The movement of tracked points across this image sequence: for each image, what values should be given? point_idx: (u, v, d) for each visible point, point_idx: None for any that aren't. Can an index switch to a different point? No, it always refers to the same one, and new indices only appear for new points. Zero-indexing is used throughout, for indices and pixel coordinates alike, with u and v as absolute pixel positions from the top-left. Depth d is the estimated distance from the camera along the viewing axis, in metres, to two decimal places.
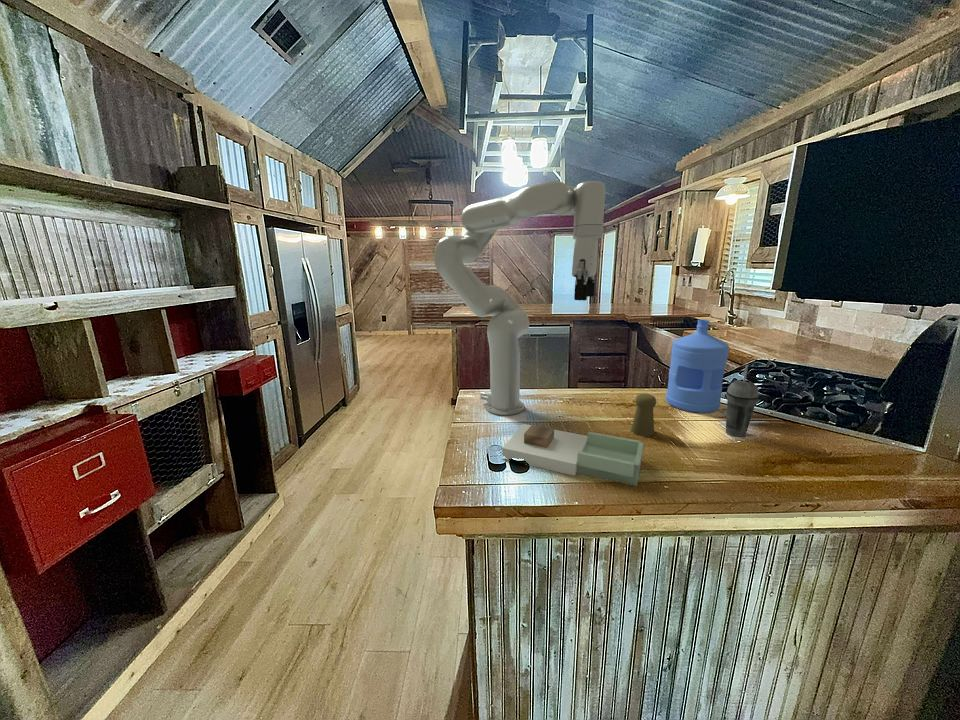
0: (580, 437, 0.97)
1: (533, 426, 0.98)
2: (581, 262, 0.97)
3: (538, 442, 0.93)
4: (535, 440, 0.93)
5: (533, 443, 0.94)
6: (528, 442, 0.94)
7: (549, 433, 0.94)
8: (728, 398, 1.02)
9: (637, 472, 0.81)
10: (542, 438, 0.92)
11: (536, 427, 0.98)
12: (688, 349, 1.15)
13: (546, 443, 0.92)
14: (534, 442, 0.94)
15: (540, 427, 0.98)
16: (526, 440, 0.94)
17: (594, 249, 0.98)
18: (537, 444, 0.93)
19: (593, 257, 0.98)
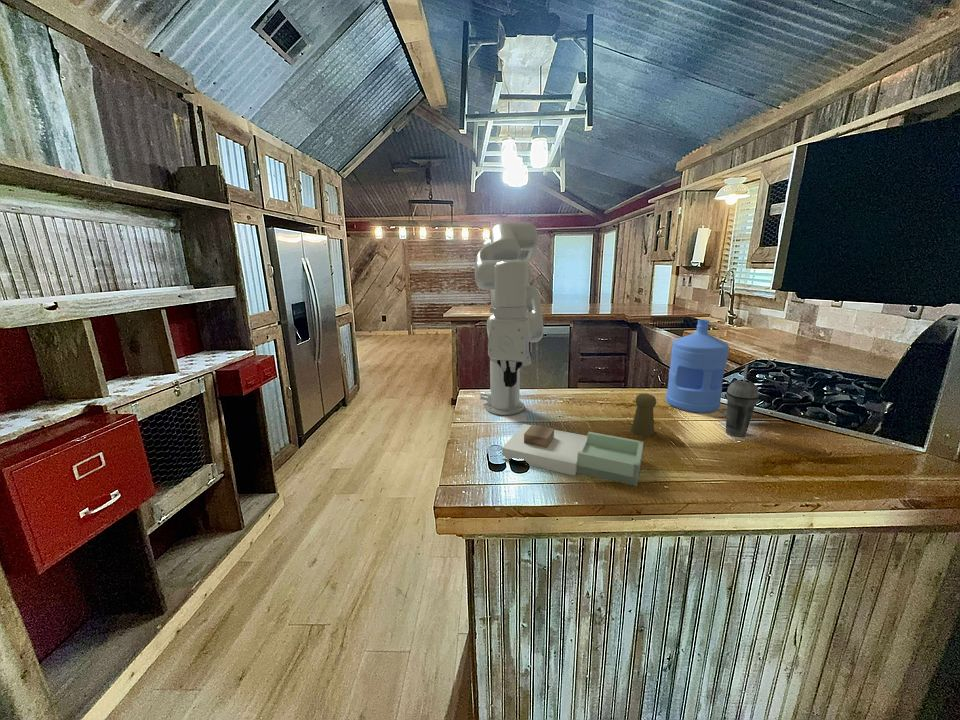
0: (580, 437, 0.97)
1: (533, 426, 0.98)
2: None
3: (538, 442, 0.93)
4: (535, 440, 0.93)
5: (533, 443, 0.94)
6: (528, 442, 0.94)
7: (549, 433, 0.94)
8: (728, 398, 1.02)
9: (637, 472, 0.81)
10: (542, 438, 0.92)
11: (536, 427, 0.98)
12: (688, 349, 1.15)
13: (546, 443, 0.92)
14: (534, 442, 0.94)
15: (540, 427, 0.98)
16: (526, 440, 0.94)
17: None
18: (537, 444, 0.93)
19: None
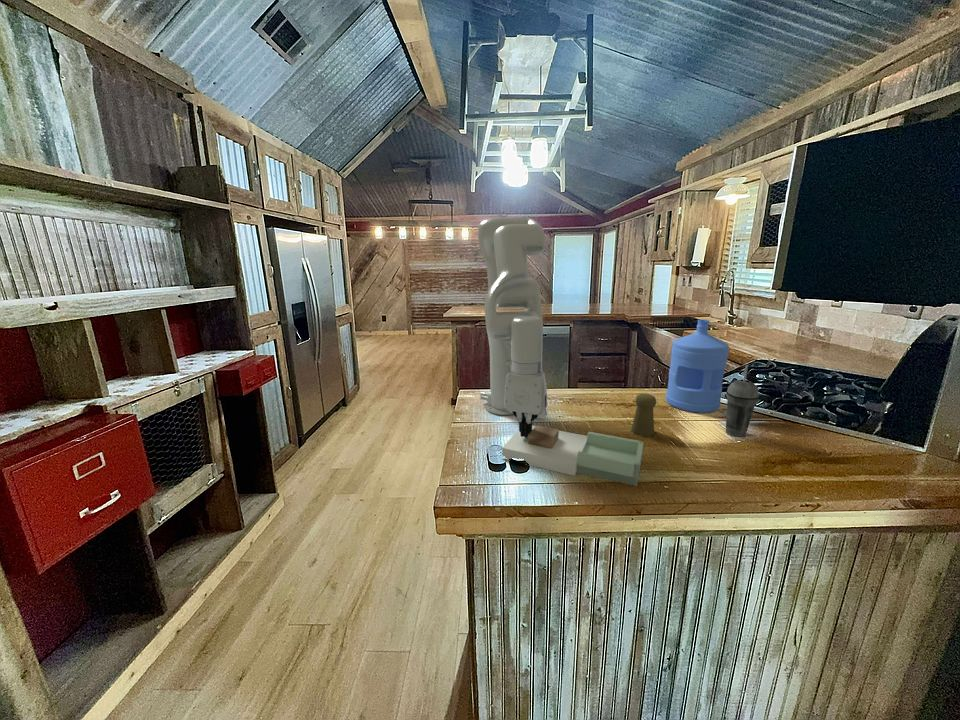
0: (580, 437, 0.97)
1: (537, 427, 0.98)
2: (544, 404, 0.93)
3: (542, 443, 0.93)
4: (540, 441, 0.93)
5: (537, 444, 0.93)
6: (532, 443, 0.94)
7: (553, 434, 0.94)
8: (728, 398, 1.02)
9: (637, 472, 0.81)
10: (546, 439, 0.92)
11: (540, 428, 0.97)
12: (688, 349, 1.15)
13: (551, 444, 0.92)
14: (538, 443, 0.93)
15: (545, 428, 0.97)
16: (531, 441, 0.94)
17: None
18: (541, 445, 0.93)
19: None
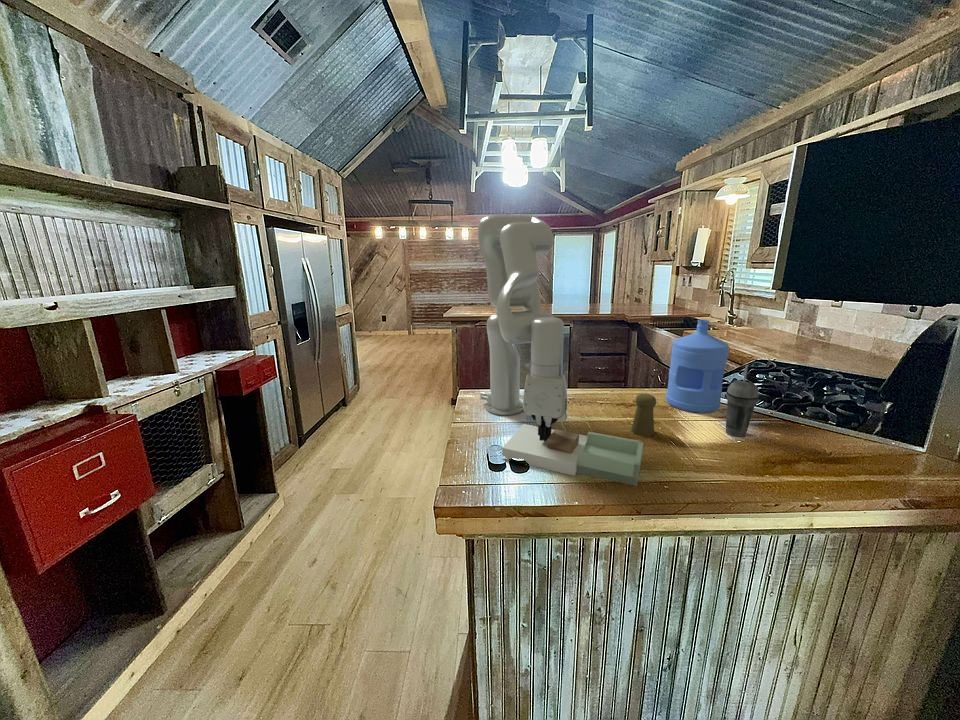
0: (580, 437, 0.97)
1: (557, 431, 0.95)
2: None
3: (562, 448, 0.90)
4: (559, 445, 0.90)
5: (556, 448, 0.91)
6: (551, 447, 0.92)
7: (574, 439, 0.91)
8: (728, 398, 1.02)
9: (637, 472, 0.81)
10: (566, 444, 0.89)
11: (560, 432, 0.95)
12: (688, 349, 1.15)
13: (570, 449, 0.89)
14: (558, 447, 0.91)
15: (565, 432, 0.94)
16: (550, 445, 0.92)
17: None
18: (561, 450, 0.90)
19: None
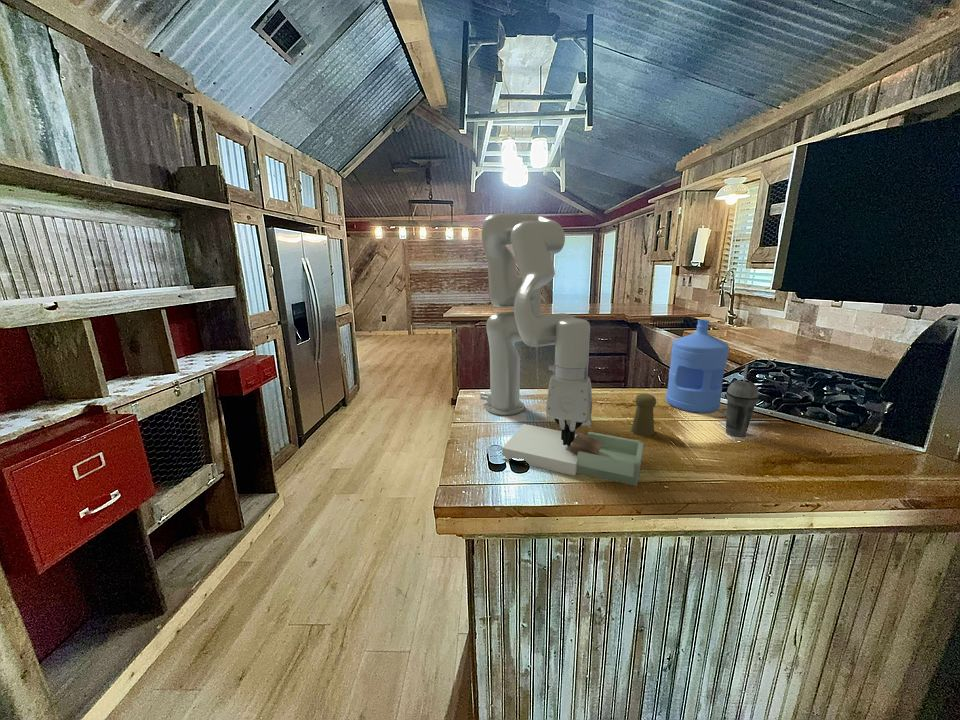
0: None
1: (581, 434, 0.93)
2: None
3: None
4: (583, 451, 0.88)
5: None
6: (574, 451, 0.89)
7: (598, 447, 0.89)
8: (728, 398, 1.02)
9: (637, 472, 0.81)
10: (591, 452, 0.87)
11: (584, 436, 0.92)
12: (688, 349, 1.15)
13: None
14: None
15: (588, 438, 0.92)
16: (573, 449, 0.89)
17: None
18: None
19: None
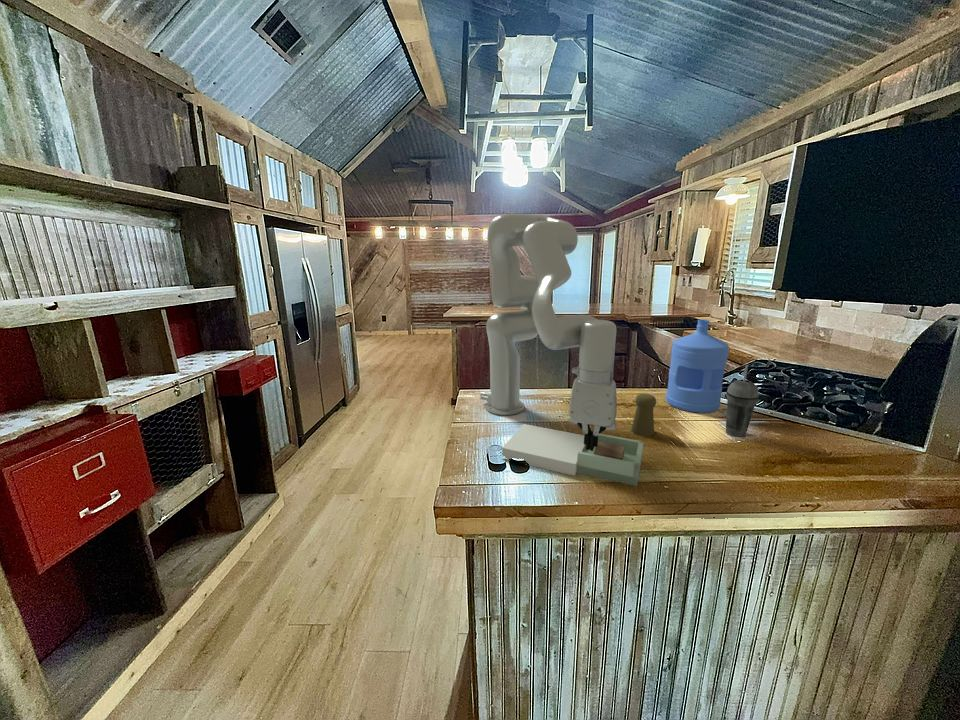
0: (580, 437, 0.97)
1: (600, 443, 0.91)
2: None
3: None
4: None
5: None
6: None
7: (621, 452, 0.87)
8: (728, 398, 1.02)
9: (637, 472, 0.81)
10: (615, 457, 0.85)
11: (604, 444, 0.90)
12: (688, 349, 1.15)
13: None
14: None
15: (609, 445, 0.90)
16: None
17: None
18: None
19: None
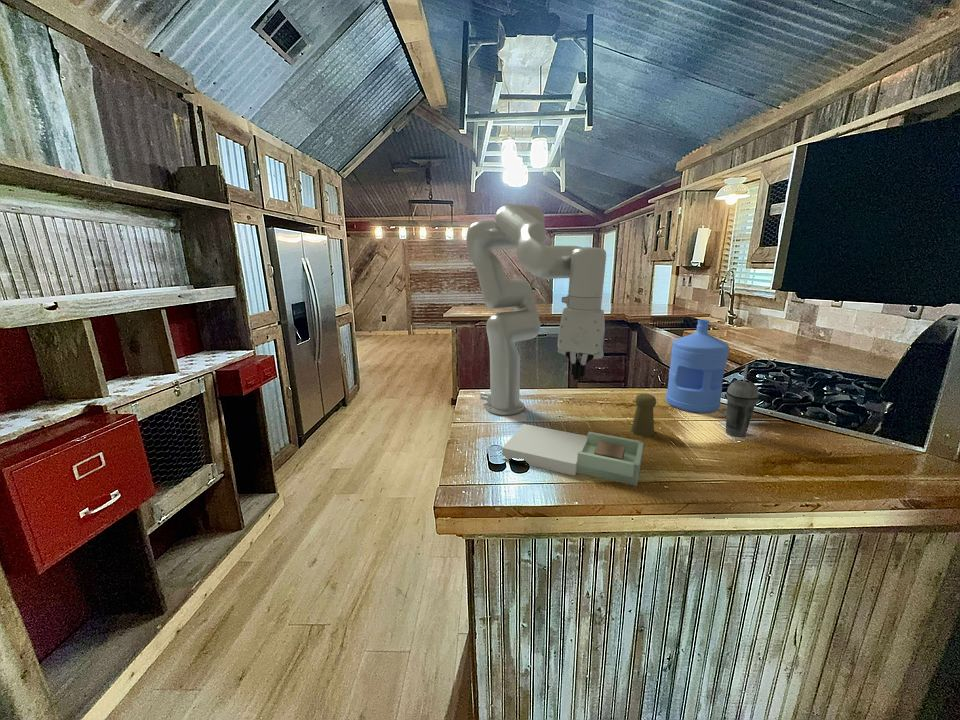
0: (580, 437, 0.97)
1: (601, 443, 0.91)
2: None
3: None
4: None
5: None
6: None
7: (621, 452, 0.87)
8: (728, 398, 1.02)
9: (637, 472, 0.81)
10: (615, 457, 0.85)
11: (604, 444, 0.90)
12: (688, 349, 1.15)
13: None
14: None
15: (609, 445, 0.90)
16: None
17: None
18: None
19: None
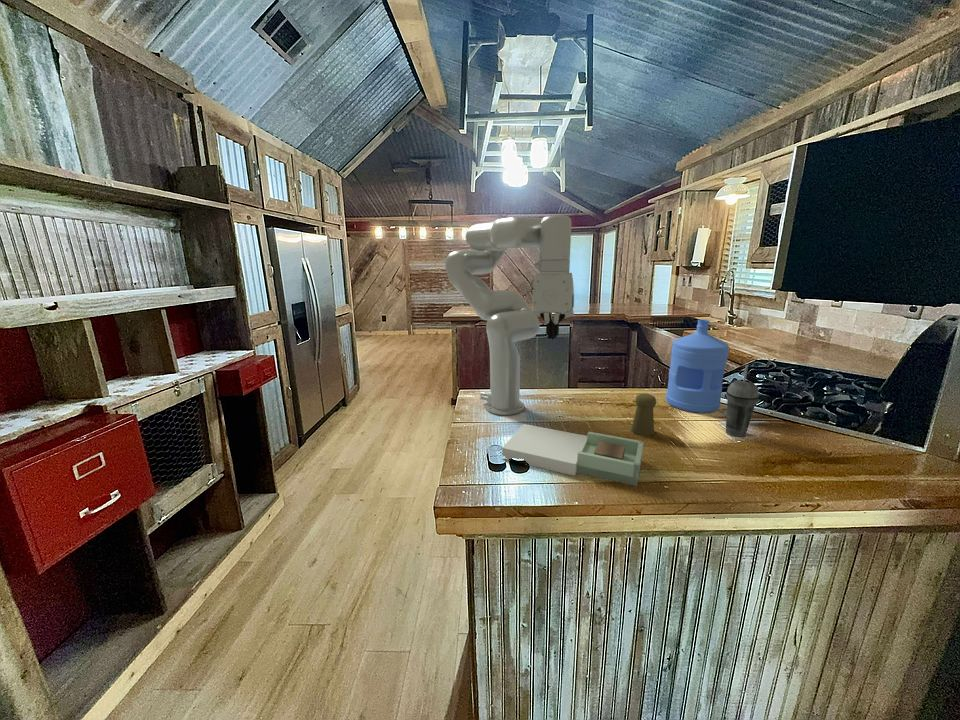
0: (580, 437, 0.97)
1: (601, 443, 0.91)
2: None
3: None
4: None
5: None
6: None
7: (621, 452, 0.87)
8: (728, 398, 1.02)
9: (637, 472, 0.81)
10: (615, 457, 0.85)
11: (604, 444, 0.90)
12: (688, 349, 1.15)
13: None
14: None
15: (609, 445, 0.90)
16: None
17: None
18: None
19: None
